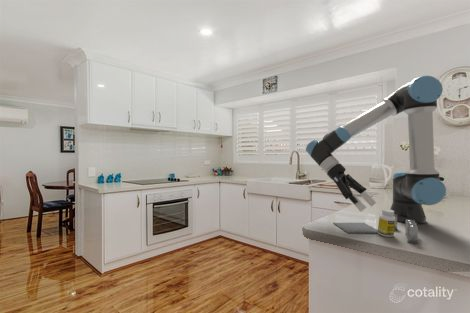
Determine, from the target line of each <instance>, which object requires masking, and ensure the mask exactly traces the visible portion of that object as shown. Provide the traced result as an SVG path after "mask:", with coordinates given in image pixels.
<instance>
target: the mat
mask: <svg viewBox="0 0 470 313" xmlns="http://www.w3.org/2000/svg"><path fill="white" fill-rule="evenodd" d="M333 225H335V226H336V227H338V228H339V229H341V230H342V231H343V230H344V232H345V233H347V234H348V235H349V234H352V235H353V234H356V235H358V234H359V235H361V234H365V235H366V234H370V235H371V234H374V235H375V234H378V235H380V234H379V233H378V228H375V227H373V226H371V225H369V224H367V223H366V222H333Z"/></svg>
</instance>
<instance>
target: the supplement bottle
mask: <svg viewBox="0 0 470 313" xmlns="http://www.w3.org/2000/svg"><path fill="white" fill-rule="evenodd" d="M381 210H382V211H381V214H380V215H379V217H378V227H377V230H378V233H379V234H378V235H380V236H383V237H387V238H393V237H394V235H395V230H394V229H395V220H396V219H395V217H394V216H393V215H394V211H393V210H390V209H389V208H381Z"/></svg>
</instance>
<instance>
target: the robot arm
mask: <svg viewBox="0 0 470 313" xmlns="http://www.w3.org/2000/svg"><path fill="white" fill-rule="evenodd" d="M443 89H444V88H443V84H442V82H441V81H440V80H439V79H438V78H436V77H435V76H431V75H421V76H419V77H415V78H413V79H412V80H410V81H409V82H407V83H406V84H403V85H402V86H400V87H399V88H398V89H396V90H395V91H394V92H392V93H391V94H390V95H389V96H387V97H385V98H383V99H382V102H381V103H378V104H377V105H375V106H374V107H372V108H370V109H368V110H366V111H365V112H363V113H362V114H360V115H358V116H356V117H354V118H353V119H351V120H350V121H348V122H346V123H344V124H343V125H339V126H338V127H337V128H335V129H334V130H332V131H331V132H328V133H326V134H325V135H324V136H323V137H322V140H318V139H313V140H312V141H310V142H309V143H307V145H306V147H305V151H306V152H307V154H308V155H309V156H310V158H311V159H312V160H314V162H315V163H316V164H317V165H318V166H319V167H320V168H321V170H322V171H324V173H326V175H327V176H328V177H329V179H331V181H332V180H333V182H334V183H335V185H336V186H337V188H338V189H339V191H340V193H341V194H342V197H344V198H345V200H348V199H349V201H350V202H351V203H352V204H353V205H354V206H355V207H356V208H357V209H358V211H359V212H360V213H361V212H363V211H364V210H365V209H366V208H367V206H366V205H365V204H364V202H362V201H361V199H359V197H358V196H357V195H356V194H355V193H353V191H352V189H353V190H354V191H355V192H357V193H359V196H361V197H362V198H363V200H364V201H365V202H366V203H367V204H368V205H369V206H370V208H371V207H374V206H375V205H376V204H377V201H376V200H375V198H373V197H372V196H371V195H370V194H369V193H368V192H367V190H368V189H367V188H366V187H364V186H363V185H362V184H361V183H360V182H358V181H357V180H356V179H354V178H353V177H352V176H351V175H350V174H349V173H346V174H345V172H346V170H347V169H346V168H345V166H344V165H342V163H340V161H339V160H338V159H337V158H336V157H335V156H334V155H333V153H334V152H335V151H337V150H338V149H339V148H340V147H342V146H343V145H344V144H346V143H347V142H348V141H349V140H350V139H351V138H354V136H355V137H356V135H359V134H360V133H362V132H364V131H365V130H368V129H369V128H371V127H373V126H374V125H376V124H379V123H380V122H382V121H384V120H385V119H387V118H389V117H390V116H391V117H392V116H394V117H395V116H397V115H399V114H400V113H402V112H403V113H405V114H406V115H407V119H408V120H407V124H408V126H407V127H408V128H407V130H408V150H409V151H408V152H409V154H408V156H409V157H408V159H409V169H408V170H406V172H405V171H403V172H402V171H400V172H399V171H398V172H394V174H393V177H392V203H391V206H390V210H393V211H394V214H396V215H397V222H399V223H400V222H401V223H405V224H406V219H409V220H414V221H415V223H417V225H419V224H420V225H421V224H422V225H423V224H426V223H427V217H426V214H425V211H424V208H423V206H432V205H433V206H434V205H437V204H439V203H440V202H441V201H443V200H444V198H445V196H446V194H447V188H446V185H445V183H444V182H442V181H441V180H440V172H439V171H438V170H436V168H435V149H434V148H435V147H434V141H435V140H434V118H433V112H434V111H436V109H438V100H439V99H440V97H441V96H442V93H443ZM422 205H423V206H422Z"/></svg>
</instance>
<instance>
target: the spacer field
mask: <svg viewBox="0 0 470 313" xmlns="http://www.w3.org/2000/svg"><path fill="white" fill-rule="evenodd" d="M393 216H394V217H395V219H396V220H395V229H394V231H395V230H396V231H397V230H398V221H397V215H396V214H394V215H393ZM418 227H419V226H418V224H417V223H415V221H414V220H409V219H406V223H405V229H404V231H405V232H404V233H405V237H406V239H407V240H406V243H409V244H413V245H417V244H418V239H419V238H418V236H419V233H418V231H419V228H418Z"/></svg>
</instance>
